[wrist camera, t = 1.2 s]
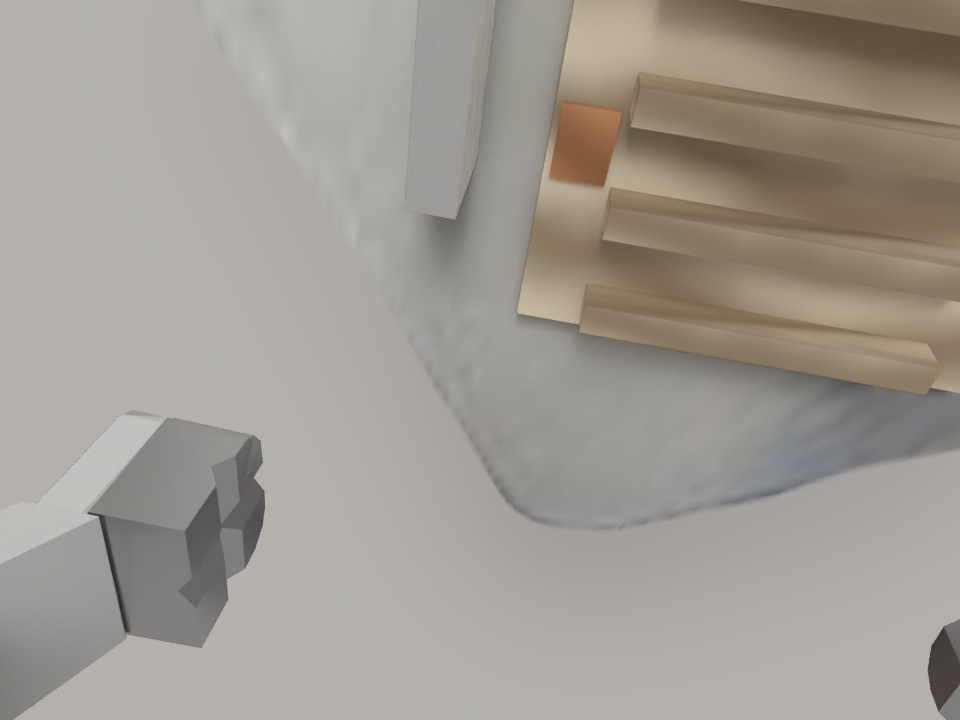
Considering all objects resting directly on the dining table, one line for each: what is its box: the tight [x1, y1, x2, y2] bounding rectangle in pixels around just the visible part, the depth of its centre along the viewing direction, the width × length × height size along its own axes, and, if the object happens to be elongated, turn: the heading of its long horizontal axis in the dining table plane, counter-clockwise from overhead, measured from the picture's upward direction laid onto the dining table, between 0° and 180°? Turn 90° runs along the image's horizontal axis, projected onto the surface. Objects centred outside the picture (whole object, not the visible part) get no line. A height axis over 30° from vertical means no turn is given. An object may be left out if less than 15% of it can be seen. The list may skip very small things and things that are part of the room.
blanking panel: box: [405, 0, 497, 219], centre depth 28 cm, size 12×2×6 cm, turn 173°
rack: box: [517, 0, 960, 395], centre depth 31 cm, size 18×22×3 cm
